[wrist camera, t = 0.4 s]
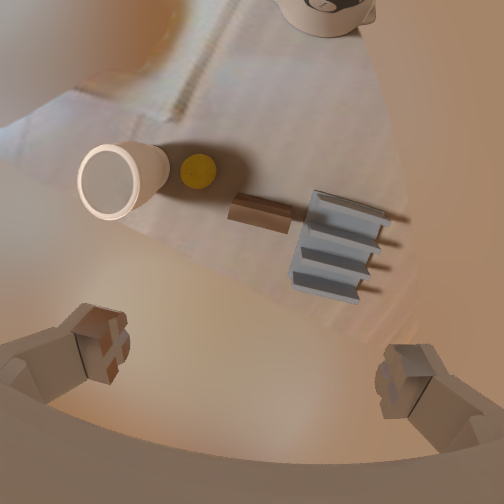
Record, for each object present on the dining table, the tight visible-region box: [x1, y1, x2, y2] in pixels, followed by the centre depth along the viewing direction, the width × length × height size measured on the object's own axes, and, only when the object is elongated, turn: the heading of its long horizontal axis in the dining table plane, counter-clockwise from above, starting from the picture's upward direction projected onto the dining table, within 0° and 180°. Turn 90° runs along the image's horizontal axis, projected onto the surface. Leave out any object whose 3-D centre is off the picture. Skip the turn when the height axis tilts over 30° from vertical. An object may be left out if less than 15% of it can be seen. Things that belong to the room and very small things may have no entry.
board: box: [227, 193, 292, 234], centre depth 49 cm, size 2×9×8 cm, turn 76°
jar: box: [77, 141, 170, 220], centre depth 45 cm, size 11×10×15 cm
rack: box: [288, 190, 391, 305], centre depth 51 cm, size 16×13×6 cm
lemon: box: [180, 154, 217, 189], centre depth 47 cm, size 6×6×8 cm
